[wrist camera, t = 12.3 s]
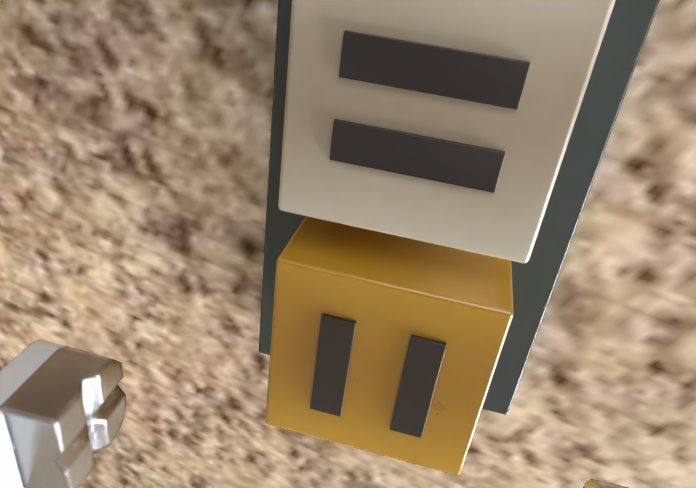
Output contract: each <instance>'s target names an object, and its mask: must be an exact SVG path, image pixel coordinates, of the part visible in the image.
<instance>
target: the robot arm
mask: <svg viewBox="0 0 696 488" xmlns="http://www.w3.org/2000/svg"><path fill="white" fill-rule="evenodd" d="M123 377H124V376H123V370H122V364H121V362H119V361H117V360H114V359H110V358H107V357H103V356H100V355H96V354H92V353H89V352H85V351H82V350H78V349H75V348H71V347H68V346H63V345H59V344H55V343H52V342H48V341H44V340H39V341H36V342H33V343H31V344H30V345H29V346H27V347H26V348H25V349H24V350H23V351H22V352H21V353H20V354H19V355H18V356H17V357H15V358H14V359H13V360H12V361H11V362H10V363H9V364H8V365H7V366H6V367H4V368H3V369H2V370H1V371H0V488H23V487H25V488H79V487H80V485H81V484H82V483H83V481H84V480H85V479H86V477H87V476H88V474H89V473H90V472H91V470H92V469H93V468H94V457H93V454H95V453H97V452H99V451H101V450H103V449H105V448H107V447H109V445H110V444H111V443H112V441H113V440H114V438H115V437H116V435H117V434H118V432H119V430H120V427H121V425H122V423H123V420H124V418H125V412H126V405H127V404H126V395H125V393H124V392H123V391H122V390H121V388H120V387H119V386H118V383H119V382H120V380H121V379H122V378H123ZM583 488H628V487H624V486H620V485H616V484H612V483H607V482H603V481H599V480H595V479H590V480H589V481H587V482H586V483H585V485H584V487H583Z"/></svg>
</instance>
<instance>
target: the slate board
mask: <svg viewBox="0 0 696 488" xmlns="http://www.w3.org/2000/svg"><path fill="white" fill-rule="evenodd" d="M659 1H660V0H616V1H615V4H614V7H613V10H612V13H611V16H610V19H609V22H608V25H607V28H606V31H605V34H604V37H603V40H602V43H601V46H600V49H599V52H598V55H597V58H596V61H595V64H594V67H593V70H592V73H591V76H590V79H589V82H588V85H587V88H586V91H585V94H584V97H583V100H582V103H581V106H580V109H579V112H578V115H577V118H576V121H575V124H574V127H573V130H572V133H571V136H570V139H569V142H568V145H567V148H566V151H565V154H564V157H563V160H562V163H561V166H560V169H559V172H558V175H557V178H556V181H555V184H554V187H553V190H552V193H551V196H550V199H549V202H548V205H547V208H546V211H545V214H544V217H543V220H542V223H541V226H540V230H539V233H538V236H537V239H536V242H535V245H534V248H533V251H532V254H531V257H530V259H529V261H528V262H527V263H520V262H515V261H511V267H512V290H513V313H514V315H513V318H512V321H511V324H510V327H509V330H508V333H507V336H506V339H505V342H504V345H503V348H502V351H501V354H500V357H499V360H498V363H497V366H496V369H495V372H494V375H493V378H492V381H491V384H490V387H489V390H488V393H487V396H486V399H485V402H484V405H483V408H482V409H485V410H489V411H493V412H497V413H501V414H505V415H506V414H507V413H508V411H509V408H510V405H511V403H512V400H513V397H514V395H515V392H516V389H517V386H518V384H519V381H520V378H521V376H522V373H523V370H524V367H525V365H526V362H527V359H528V357H529V354H530V351H531V348H532V346H533V343H534V340H535V338H536V335H537V332H538V329H539V327H540V324H541V321H542V319H543V316H544V313H545V310H546V308H547V305H548V302H549V300H550V297H551V294H552V291H553V289H554V286H555V283H556V281H557V278H558V275H559V272H560V270H561V267H562V264H563V262H564V259H565V256H566V253H567V251H568V248H569V245H570V243H571V240H572V237H573V234H574V232H575V229H576V226H577V224H578V221H579V218H580V215H581V213H582V210H583V207H584V205H585V202H586V199H587V196H588V194H589V191H590V188H591V186H592V183H593V180H594V177H595V175H596V172H597V169H598V167H599V164H600V161H601V158H602V156H603V153H604V150H605V148H606V145H607V142H608V139H609V137H610V134H611V131H612V129H613V126H614V123H615V120H616V118H617V115H618V112H619V110H620V107H621V104H622V101H623V99H624V96H625V93H626V91H627V88H628V85H629V82H630V80H631V77H632V74H633V72H634V69H635V66H636V63H637V61H638V58H639V55H640V53H641V50H642V47H643V44H644V42H645V39H646V36H647V34H648V31H649V28H650V25H651V23H652V20H653V17H654V15H655V12H656V9H657V6H658V4H659ZM291 9H292V0H278V18H277V35H276V53H275V71H274V89H273V107H272V124H271V142H270V160H269V178H268V195H267V213H266V231H265V249H264V266H263V284H262V302H261V320H260V338H259V352H260V353H264V354H268V355H270V348H271V334H272V320H273V306H274V291H275V277H276V263H277V259H278V258H279V256H280V255H281V253H282V251H283V250H284V248H285V247H286V245H287V244H288V242H289V241H290V239H291V238H292V236H293V235H294V233H295V232H296V230H297V229H298V227H299V226H300V224H301V223H302V221H303V220H304V218H305V217H306V216H304V215H299V214H295V213H290V212H285V211H281V210H280V209H279V206H278V202H279V187H280V172H281V158H282V143H283V128H284V113H285V98H286V83H287V69H288V54H289V39H290V24H291Z"/></svg>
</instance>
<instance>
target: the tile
mask: <svg viewBox="0 0 696 488" xmlns="http://www.w3.org/2000/svg"><path fill="white" fill-rule="evenodd" d="M615 1H616V0H292V9H291V24H290V39H289V54H288V69H287V83H286V98H285V113H284V128H283V143H282V158H281V172H280V187H279V202H278V206H279V209H280V210H281V211H285V212H290V213H295V214H299V215H304V216H308V217H313V218H318V219H322V220H327V221H331V222H336V223H341V224H345V225H350V226H354V227H359V228H364V229H368V230H373V231H377V232H382V233H387V234H391V235H396V236H400V237H405V238H410V239H414V240H419V241H423V242H428V243H433V244H437V245H442V246H446V247H451V248H456V249H460V250H465V251H469V252H474V253H479V254H483V255H488V256H492V257H497V258H502V259H506V260H511V261H515V262H520V263H527V262H528V261H529V259H530V257H531V254H532V251H533V248H534V245H535V242H536V239H537V236H538V233H539V230H540V226H541V223H542V220H543V217H544V214H545V211H546V208H547V205H548V202H549V199H550V196H551V193H552V190H553V187H554V184H555V181H556V178H557V175H558V172H559V169H560V166H561V163H562V160H563V157H564V154H565V151H566V148H567V145H568V142H569V139H570V136H571V133H572V130H573V127H574V124H575V121H576V118H577V115H578V112H579V109H580V106H581V103H582V100H583V97H584V94H585V91H586V88H587V85H588V82H589V79H590V76H591V73H592V70H593V67H594V64H595V61H596V58H597V55H598V52H599V49H600V46H601V43H602V40H603V37H604V34H605V31H606V28H607V25H608V22H609V19H610V16H611V13H612V10H613V7H614V4H615Z"/></svg>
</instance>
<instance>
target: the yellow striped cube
mask: <svg viewBox="0 0 696 488" xmlns="http://www.w3.org/2000/svg"><path fill="white" fill-rule="evenodd" d="M513 315H514V313H513V290H512V267H511V260H506V259H502V258H497V257H492V256H488V255H483V254H479V253H474V252H469V251H465V250H460V249H456V248H451V247H446V246H442V245H437V244H433V243H428V242H423V241H419V240H414V239H410V238H405V237H400V236H396V235H391V234H387V233H382V232H377V231H373V230H368V229H364V228H359V227H354V226H350V225H345V224H341V223H336V222H331V221H327V220H322V219H318V218H313V217H308V216H306V217H305V218H304V220H303V221H302V223H301V224H300V226H299V227H298V229H297V230H296V232H295V233H294V235H293V236H292V238H291V239H290V241H289V242H288V244H287V245H286V247H285V248H284V250H283V251H282V253H281V255H280V256H279V258H278V259H277V263H276V277H275V291H274V306H273V320H272V334H271V348H270V363H269V377H268V391H267V406H266V423H267V424H269V425H272V426H276V427H280V428H283V429H287V430H291V431H295V432H298V433H302V434H306V435H309V436H313V437H317V438H320V439H324V440H328V441H332V442H335V443H339V444H343V445H346V446H350V447H354V448H357V449H361V450H365V451H369V452H372V453H376V454H380V455H383V456H387V457H391V458H395V459H398V460H402V461H406V462H409V463H413V464H417V465H420V466H424V467H428V468H432V469H435V470H439V471H443V472H446V473H450V474H454V475H459V474H460V473H461V470H462V467H463V464H464V461H465V458H466V455H467V452H468V449H469V446H470V443H471V441H472V438H473V435H474V432H475V429H476V426H477V423H478V420H479V417H480V414H481V411H482V408H483V405H484V402H485V399H486V396H487V393H488V390H489V387H490V384H491V381H492V378H493V375H494V372H495V369H496V366H497V363H498V360H499V357H500V354H501V351H502V348H503V345H504V342H505V339H506V336H507V333H508V330H509V327H510V324H511V321H512V318H513Z"/></svg>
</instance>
